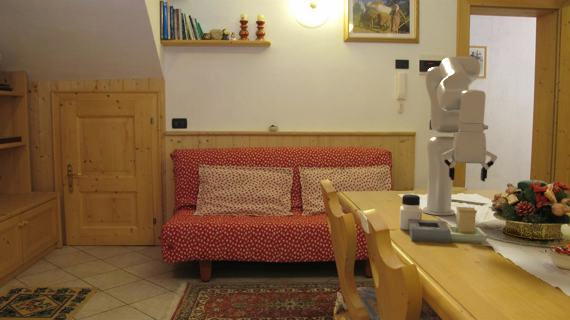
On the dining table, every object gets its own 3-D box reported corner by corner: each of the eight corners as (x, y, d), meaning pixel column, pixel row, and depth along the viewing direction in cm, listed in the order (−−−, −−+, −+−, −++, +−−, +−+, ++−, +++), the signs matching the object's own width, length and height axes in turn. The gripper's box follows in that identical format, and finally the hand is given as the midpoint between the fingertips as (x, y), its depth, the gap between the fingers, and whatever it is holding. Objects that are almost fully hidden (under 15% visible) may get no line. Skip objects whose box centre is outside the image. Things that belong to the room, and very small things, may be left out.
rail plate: (407, 230, 167) (408, 219, 167) (443, 232, 165) (443, 220, 165) (411, 240, 153) (412, 228, 153) (450, 243, 151) (450, 230, 151)
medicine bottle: (420, 230, 167) (422, 197, 165) (400, 229, 168) (401, 196, 167) (419, 226, 174) (420, 193, 172) (399, 224, 175) (400, 192, 174)
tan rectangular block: (455, 232, 161) (456, 206, 160) (471, 233, 160) (473, 207, 159) (457, 236, 156) (459, 210, 155) (475, 237, 155) (476, 210, 154)
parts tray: (445, 232, 165) (445, 225, 164) (478, 234, 163) (478, 227, 162) (450, 241, 154) (450, 233, 154) (486, 243, 152) (486, 235, 152)
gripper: (495, 128, 157) (492, 179, 159) (441, 127, 160) (438, 177, 162) (502, 130, 149) (498, 183, 152) (445, 128, 152) (441, 181, 155)
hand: (467, 180), depth 157 cm, fingers open, 9 cm apart
